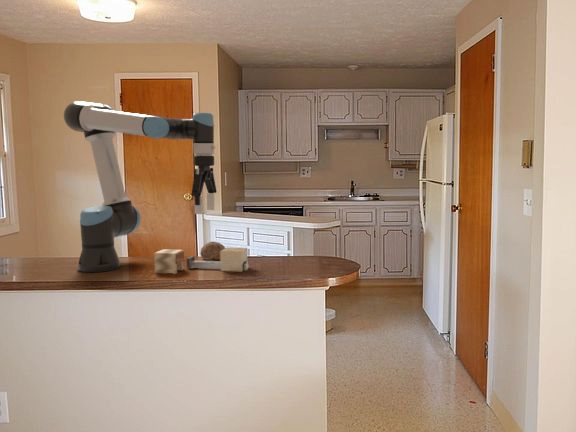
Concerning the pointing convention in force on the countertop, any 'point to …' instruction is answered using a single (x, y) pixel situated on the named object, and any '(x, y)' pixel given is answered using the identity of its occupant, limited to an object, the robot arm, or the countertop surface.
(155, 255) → the slotted tan cube
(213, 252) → the seashell
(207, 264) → the rail
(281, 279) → the countertop surface
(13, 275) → the countertop surface
